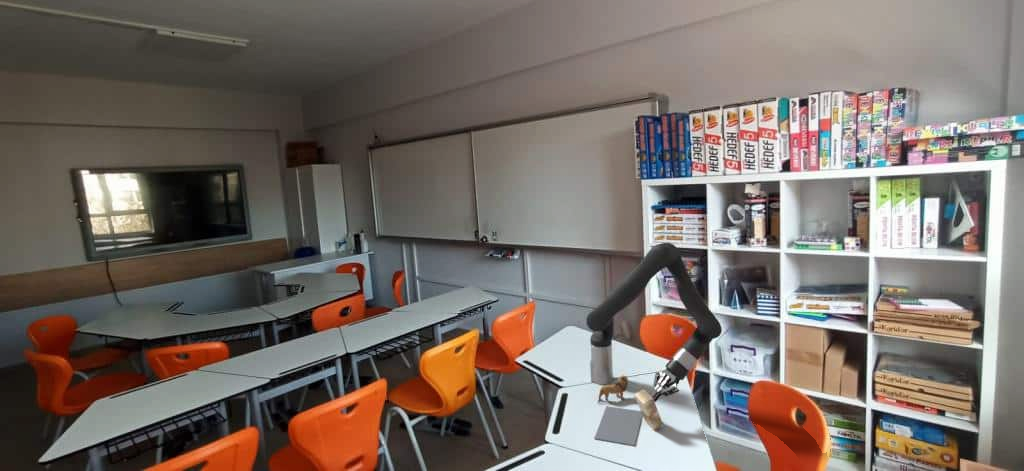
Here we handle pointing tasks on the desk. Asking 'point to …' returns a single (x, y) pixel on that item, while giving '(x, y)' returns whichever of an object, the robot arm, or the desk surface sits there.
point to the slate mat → (619, 426)
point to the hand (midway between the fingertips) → (651, 400)
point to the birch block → (649, 409)
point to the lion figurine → (614, 389)
